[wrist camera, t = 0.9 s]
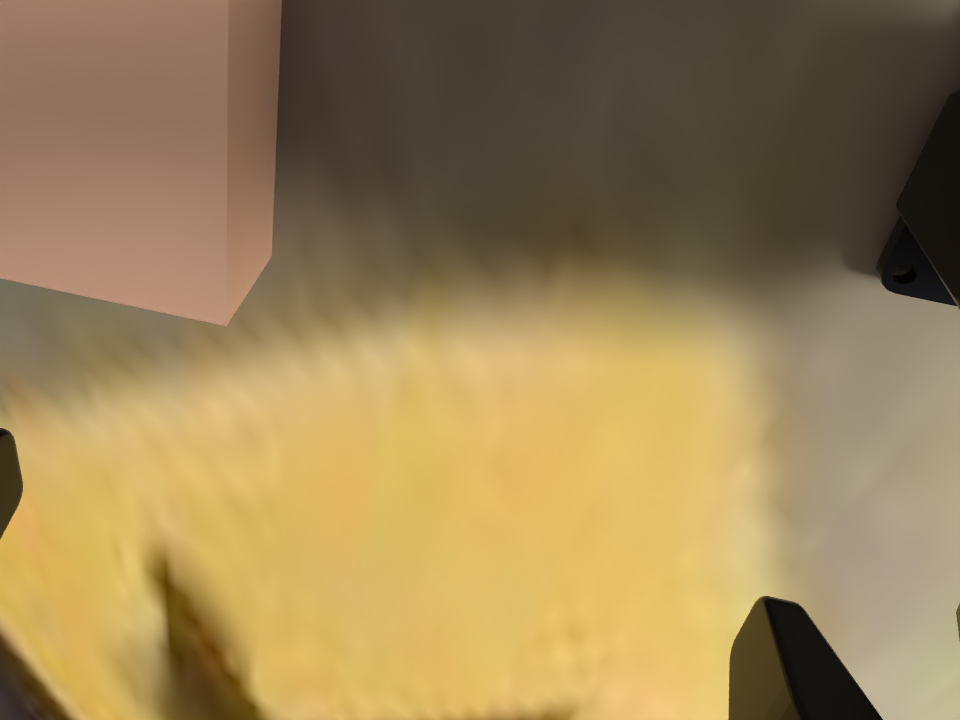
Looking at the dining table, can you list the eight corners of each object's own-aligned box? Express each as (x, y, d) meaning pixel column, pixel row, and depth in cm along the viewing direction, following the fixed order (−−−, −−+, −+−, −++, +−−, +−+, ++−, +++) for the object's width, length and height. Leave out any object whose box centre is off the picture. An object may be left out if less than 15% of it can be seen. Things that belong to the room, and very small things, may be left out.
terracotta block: (290, -103, 17) (228, -74, 14) (275, 251, 22) (226, 325, 19) (-59, -178, 17) (-191, -164, 14) (-1, 192, 22) (-92, 258, 19)
